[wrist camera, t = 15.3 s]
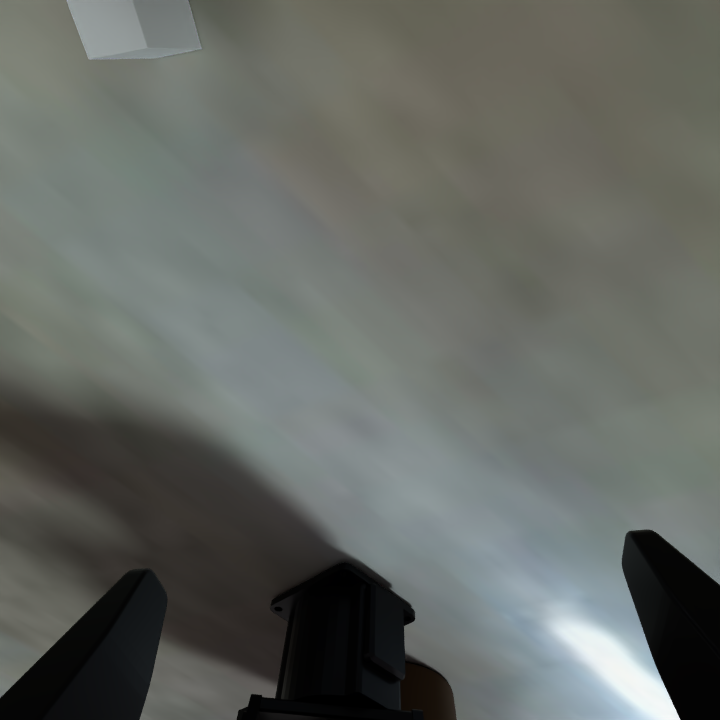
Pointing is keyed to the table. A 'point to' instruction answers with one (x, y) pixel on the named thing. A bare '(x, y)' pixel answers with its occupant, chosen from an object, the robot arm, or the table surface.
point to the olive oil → (427, 693)
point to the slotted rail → (135, 28)
